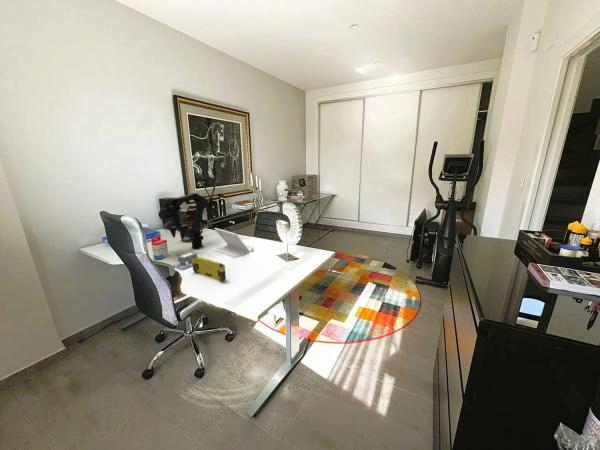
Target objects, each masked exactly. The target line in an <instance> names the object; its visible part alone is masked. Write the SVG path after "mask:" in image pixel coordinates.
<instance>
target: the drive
mask: <svg viewBox="0 0 600 450" xmlns="http://www.w3.org/2000/svg"><path fill="white" fill-rule="evenodd" d="M197 255H198V253H197V252H196V253H195V252H192V251H190V252H187V253H185V254H182V255H179V256H177V259H178V262H180V265H182V266H186V262H188V264H191V263H192V258H193V257H196V256H197Z"/></svg>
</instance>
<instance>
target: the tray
mask: <svg viewBox="0 0 600 450" xmlns="http://www.w3.org/2000/svg"><path fill="white" fill-rule="evenodd" d="M197 256H198V257H199V255H198V254H197ZM171 267H172V268H175V269H177V270H180V271H186V270H187V269H189V268H193V265H192V263H191V264H188V262H186V266H182V265H180V262H178V258H176V263H173V264H171Z"/></svg>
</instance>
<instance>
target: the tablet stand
mask: <svg viewBox="0 0 600 450" xmlns="http://www.w3.org/2000/svg"><path fill="white" fill-rule="evenodd" d="M214 230H215V231H216V232H217V234H218V235H219V236H220V237H221V239H222V240H224V242H225V244H226V245H224V246H220V247H217V248H213V249H214V251H215V252H217V253H219V254H222V255H225V256H228V257H230V258H232V259H234V258H238V257H241V256H244V255H247V254H249V253H252V252H253V250H254V247H253V246H250V245H247V244H245V243H244V242H243V241H242V240H241V238H240V237H239V235H238V234H237V233H235V232H231V231H228V230H225V229H221V228H217V227H215V228H214Z"/></svg>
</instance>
